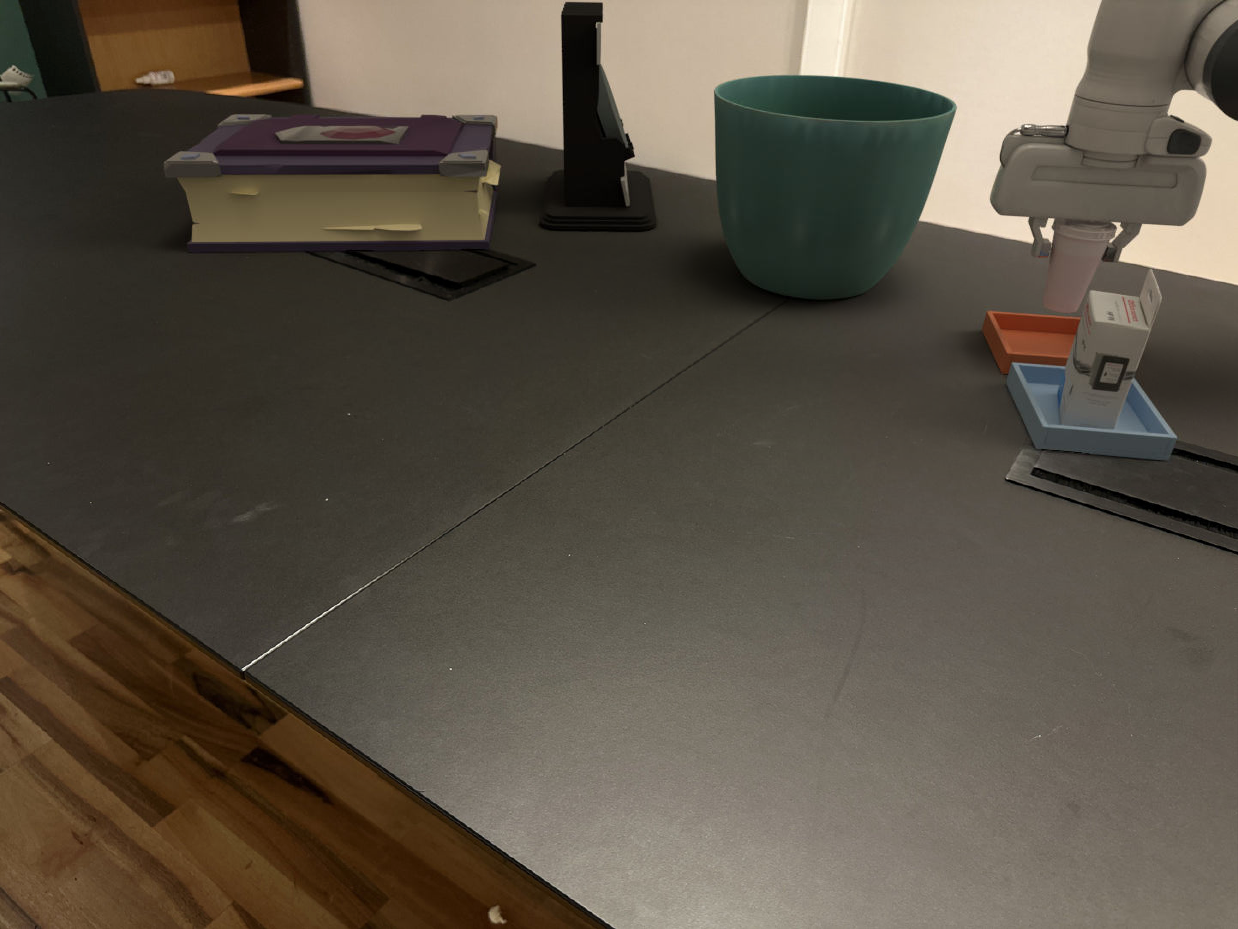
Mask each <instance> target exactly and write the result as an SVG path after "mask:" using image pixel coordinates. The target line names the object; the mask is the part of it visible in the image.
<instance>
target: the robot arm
mask: <svg viewBox="0 0 1238 929" xmlns="http://www.w3.org/2000/svg"><path fill="white" fill-rule="evenodd" d="M1180 91H1195V92H1196V93H1197V94H1198V95H1200V96H1201V97H1203V98H1205V99H1206V100H1208V101H1210V102H1212V104H1214V105H1215V106H1216V107H1217V108H1218V109H1219V110H1220V111H1221V112H1222V113H1223V114H1224V115H1225V116H1226V117H1228V118H1230V119H1231V120H1233V121H1236V122H1238V0H1101V1H1100V4H1099V7H1098V10H1097V12H1096V16H1095V19H1094V23H1093V26H1092V28H1091V32H1090V35H1089V39H1088V42H1087V46H1086V66H1085V69H1084V72H1083V75H1082V77H1081V78H1080V81H1079V83H1078V84H1077V86H1076V88H1075V91H1074V94H1073V98H1072V102H1071V104H1070V109H1069V112H1068V116H1067V120H1066V123H1065V125H1061V124H1059V125H1056V124H1047V125H1045V124H1044V125H1037V124H1033V123H1026V124H1025V123H1024V124H1021V125H1020V127H1017V128H1014V129H1012V130H1010V131H1009V132H1008V133H1007V134H1006V135H1005V137H1004V138H1003V140H1002V143H1001V147H1000V151H999V162H1000V166H999V168H998V171H997V173H996V176H995V179H994V181H993V184H992V187H991V190H990V194H989V203H990V204H991V207H992V208H993V209H994V211H995V212H996V213H997V214H998V215H999V216H1005V217H1019V218H1020V217H1021V218H1028V220H1027V224H1028V226H1029V229H1030V232H1031V235H1032V238H1033V241H1032V245H1031V249H1030V255H1031V256H1032V258H1037V259H1039V258H1041V259H1048V258H1049V257H1050V251H1051V247H1052V241H1050V239H1049V238H1047V237H1046V238H1045V237H1044V236H1043V233H1042V231H1041V228H1042V229H1044V228H1046V227H1047V225H1048V220H1049V219H1053V220H1054V219H1069V220H1086V221H1102V222H1112V223H1120V224H1119V227H1120V228H1121V229H1122V230H1121V231H1120V232H1119V233H1118V234H1117V235H1116V236H1115V237H1114V238H1113V239H1112V240H1111V241H1109V243H1108V246H1107V248H1106V250H1105V252H1104V254H1103V256H1102V259H1101V262H1104V263H1114V264H1115V263H1116V264H1117V263H1119V261H1120V259H1121V258H1120V257H1121V255H1122V252H1123V249H1124V248H1126V247H1127V246H1128V245H1129V244H1130V243H1131V242H1132V241H1133V240H1135V238H1137V236H1139V235H1140V232H1141V229H1142V226H1143V225H1151V226H1152V225H1156V226H1168V227H1169V226H1170V227H1171V226H1172V227H1183V226H1185V225H1186V224H1188V223H1189V222H1190V221H1191V220H1192V219H1194V218H1195V217H1196V214H1197V212H1198V208H1199V205H1200V203H1201V200H1202V196H1203V192H1204V188H1205V183H1206V179H1207V172H1208V171H1207V165H1206V163H1205V160H1203V159H1202V158H1203V157H1204V156H1206V155H1207V154H1208V152H1209V151H1210V149H1211V147H1212V143H1213V138H1212V136H1211V135H1210V134H1209V133H1207V132H1206V131H1205V130H1203V129H1202V128H1200V127H1198V126H1197V125H1194V124H1192V123H1190V122H1187V121H1185V120H1184V119H1182V118H1180V117H1178V116H1177V115H1173V114H1169V113H1168V112H1169V110H1170V107H1171V104H1172V101H1173V97H1174V96H1175V95H1176V94H1177V93H1178V92H1180ZM1017 133H1019V134H1017ZM1201 157H1202V158H1201Z"/></svg>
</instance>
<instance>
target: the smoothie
mask: <svg viewBox="0 0 1238 929" xmlns="http://www.w3.org/2000/svg"><path fill="white" fill-rule="evenodd" d="M1051 229H1052V231H1053V235H1052V240H1051V243H1052V245H1051V249H1050V252H1049V261H1048V268H1047V273H1046V280H1045V286H1044V293H1043V299H1042V306H1043V307H1044V308H1046V309H1047V310H1049V311H1053V312H1056V313H1063V314H1072V313H1073V314H1074V313H1076V312H1078V310H1079V308H1080V305H1081V304H1082V301H1083V300H1084V297H1085V296H1086V293H1087V291H1088V288H1089V286H1090V284H1091V282H1092V280H1093V278H1094V276H1095V274H1096V271H1097V269H1098V267H1099V266H1100V263H1101V262H1102V260H1101V259H1102V256H1103V254H1104V252H1105V250H1106V248H1107V246H1108V243H1109V242H1111V241H1112V240H1114V239H1115V238H1116V233H1117V229H1118V227H1117V225H1116V224H1115V223H1114V222H1102V221H1086V220H1069V219H1053V222H1052V225H1051Z"/></svg>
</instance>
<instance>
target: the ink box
mask: <svg viewBox="0 0 1238 929" xmlns="http://www.w3.org/2000/svg"><path fill="white" fill-rule="evenodd" d="M1150 293H1151V297H1152V298H1151V297H1150ZM1162 299H1163V295H1162V292H1161V289H1160V287H1159V284H1158V282H1157V279H1156V276H1155V274H1154V271H1153V269H1152V268H1149V270H1147V274H1146V276H1145V279H1144V282H1143V285H1142V289H1141V292H1140V294H1139V296H1134V295H1126V294H1121V293H1114V292H1107V291H1100V290H1093V289H1092V290H1089V292H1088V295H1087V297H1086V300H1085V304H1084V307H1083V311H1082V314H1081V317H1080V318H1081V320H1080V323H1079V326H1078V329H1077V332H1076V335H1075V339H1074V342H1073V345H1072V348H1071V351H1070V354H1069V357H1068V360H1067V363H1066V366H1065V370H1064V372H1063V376H1062V379H1061V382H1060V385H1059V389H1058V402H1059V412H1060V423H1061V425H1064V426H1075V427H1087V428H1099V429H1111V430H1115V427H1116V424H1117V421H1118V418H1119V416H1120V413H1121V410H1122V408H1123V405H1124V402H1125V399H1126V397H1127V394H1128V391H1129V389H1130V386H1131V383H1132V381H1133V378H1134V379H1135V375H1136V372H1137V369H1138V367H1139V364H1140V361H1141V359H1142V356H1143V354H1144V351H1145V348H1146V345H1147V342H1148V339H1149V337H1150V334H1151V331H1152V328H1153V325H1154V322H1155V320H1156V317H1157V314H1158V312H1159V309H1160V307H1161V304H1162Z"/></svg>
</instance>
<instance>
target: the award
mask: <svg viewBox="0 0 1238 929" xmlns="http://www.w3.org/2000/svg"><path fill="white" fill-rule="evenodd" d="M603 22H604V3H603V2H599V1H565V2H564V4H563V7H562V10H561V14H560V31H561V32H560V34H561V35H560V36H561V40H560V41H561V42H560V43H561V86H562V87H561V89H562V90H561V91H562V92H561V94H562V134H563V135H562V144H563V148H562V149H563V151H562V152H563V169H558V170H555V171H553V172H552V174H551V175H550V176H548V177H547V180H546V186H545V189H544V191H545V192H544V196H543V200H542V206H541V212H540V215H539V216H540V217H539V225H540V226H541V227H542V228H545V229H549V230H570V231H571V230H572V231H573V230H575V231H576V230H577V231H578V230H579V231H581V230H583V231H584V230H586V231H587V230H588V231H589V230H590V231H595V230H596V231H645V230H646V231H647V230H652V229H654V228H655V227H656V226H657V225H658V224H657V223H658V221H657V215H656V209H655V203H654V202H655V201H654V197H653V190H652V183H651V179H650V177H648V176H646V174H644V173H643V172H642V171H639V170H627V169H628V168H627V165H626V161H629V160H630V159H633V158H635V157H636V154H635V151H634V150H635V147H634V144H633V141H632V140H631V138H630V135H629V132H626V131H625V129H624V122H623V119H622V118H621V116H620V112H619V109H618V106H617V103H616V100H615V97H614V94H613V91H612V88H611V85H610V82H609V80H608V77H607V74H606V71H605V69H604V67H603V65H602V62H601V61H602V57H601V56H602V23H603Z"/></svg>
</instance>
